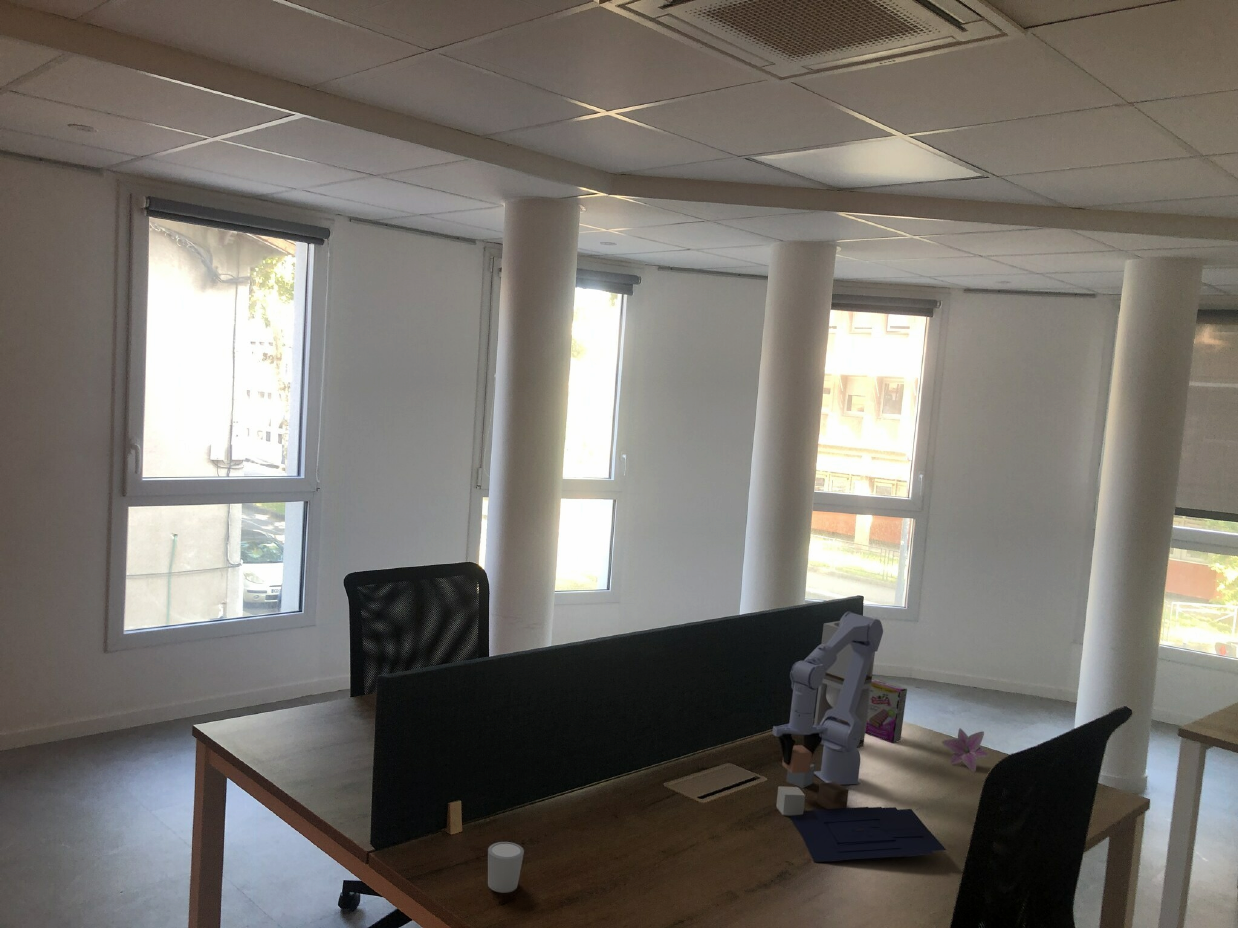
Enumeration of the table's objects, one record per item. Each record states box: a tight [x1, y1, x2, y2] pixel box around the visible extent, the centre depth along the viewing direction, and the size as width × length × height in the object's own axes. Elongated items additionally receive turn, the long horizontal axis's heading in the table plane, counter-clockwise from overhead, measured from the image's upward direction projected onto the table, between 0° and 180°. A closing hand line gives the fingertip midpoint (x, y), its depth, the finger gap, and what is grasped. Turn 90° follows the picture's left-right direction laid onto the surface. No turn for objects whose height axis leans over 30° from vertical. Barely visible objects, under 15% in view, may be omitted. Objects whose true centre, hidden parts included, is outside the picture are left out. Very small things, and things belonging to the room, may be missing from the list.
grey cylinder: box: [487, 841, 525, 894], centre depth 183 cm, size 7×7×7 cm
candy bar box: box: [865, 678, 908, 744], centre depth 290 cm, size 11×5×16 cm, turn 46°
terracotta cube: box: [781, 744, 813, 773], centre depth 239 cm, size 5×5×5 cm
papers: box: [787, 806, 947, 863], centre depth 218 cm, size 24×30×4 cm
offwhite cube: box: [775, 785, 806, 816], centre depth 229 cm, size 5×5×5 cm
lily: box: [941, 727, 991, 772], centre depth 274 cm, size 12×12×10 cm
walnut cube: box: [816, 781, 850, 809], centre depth 235 cm, size 5×5×5 cm
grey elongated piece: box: [813, 620, 876, 749], centre depth 279 cm, size 11×11×35 cm
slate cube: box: [785, 763, 815, 789], centre depth 248 cm, size 5×5×5 cm
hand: (796, 762), depth 239 cm, fingers closed on terracotta cube, 5 cm apart
